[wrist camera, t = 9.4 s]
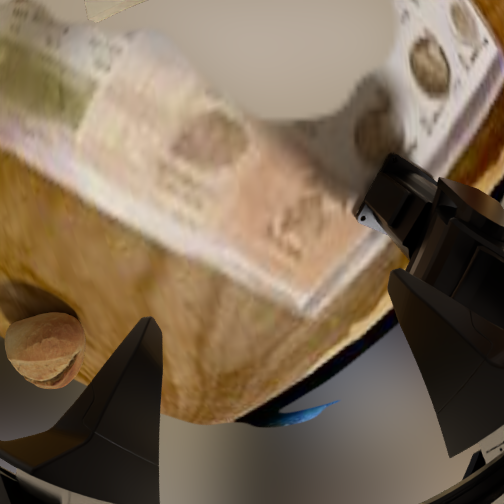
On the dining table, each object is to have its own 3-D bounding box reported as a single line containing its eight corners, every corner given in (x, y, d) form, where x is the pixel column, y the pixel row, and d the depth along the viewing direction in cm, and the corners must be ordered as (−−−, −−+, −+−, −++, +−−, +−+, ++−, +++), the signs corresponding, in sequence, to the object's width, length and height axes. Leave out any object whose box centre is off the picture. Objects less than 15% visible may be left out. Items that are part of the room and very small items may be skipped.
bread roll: (111, 341, 29) (96, 398, 22) (50, 356, 31) (35, 399, 24) (58, 285, 23) (27, 343, 17) (6, 314, 26) (-16, 357, 19)
